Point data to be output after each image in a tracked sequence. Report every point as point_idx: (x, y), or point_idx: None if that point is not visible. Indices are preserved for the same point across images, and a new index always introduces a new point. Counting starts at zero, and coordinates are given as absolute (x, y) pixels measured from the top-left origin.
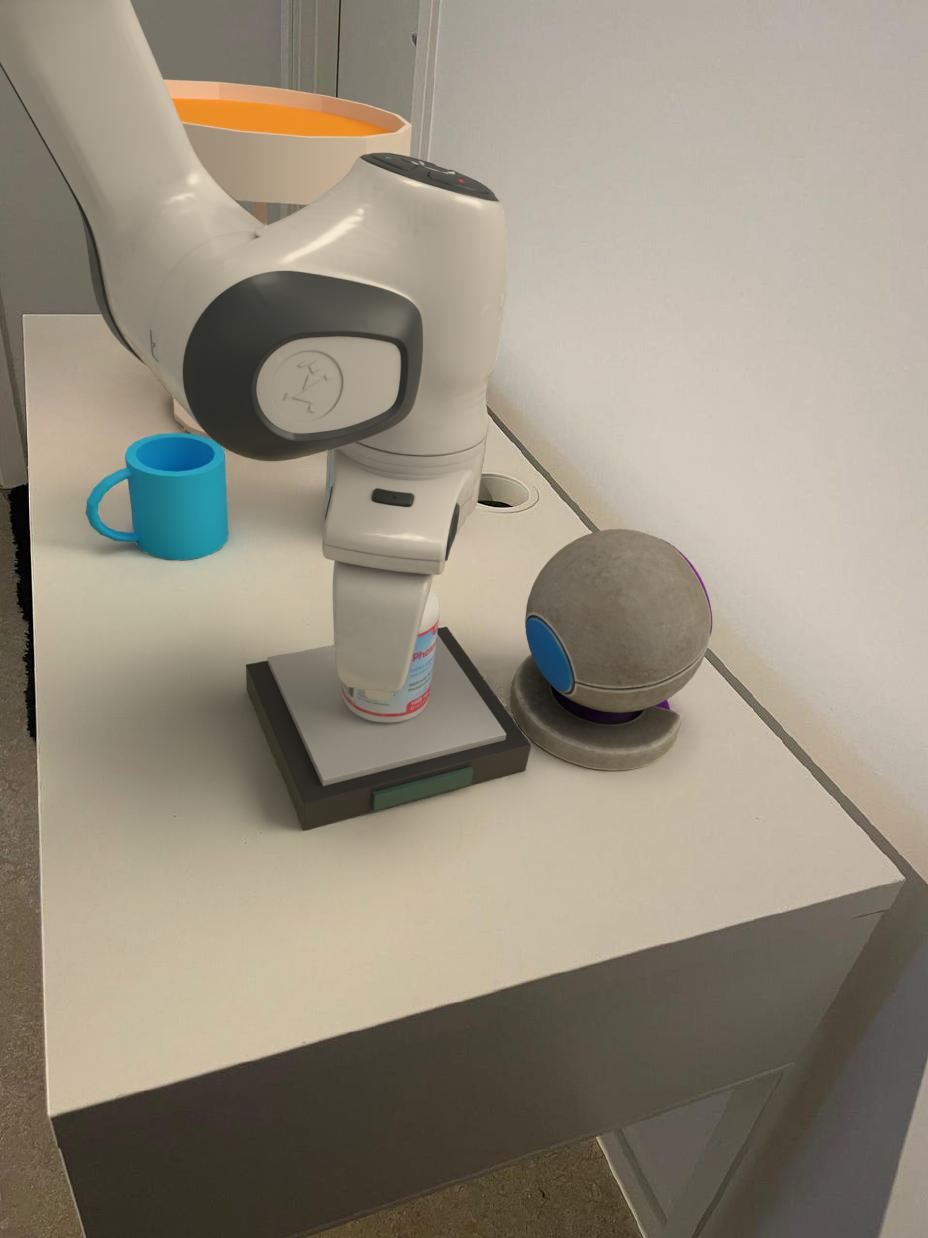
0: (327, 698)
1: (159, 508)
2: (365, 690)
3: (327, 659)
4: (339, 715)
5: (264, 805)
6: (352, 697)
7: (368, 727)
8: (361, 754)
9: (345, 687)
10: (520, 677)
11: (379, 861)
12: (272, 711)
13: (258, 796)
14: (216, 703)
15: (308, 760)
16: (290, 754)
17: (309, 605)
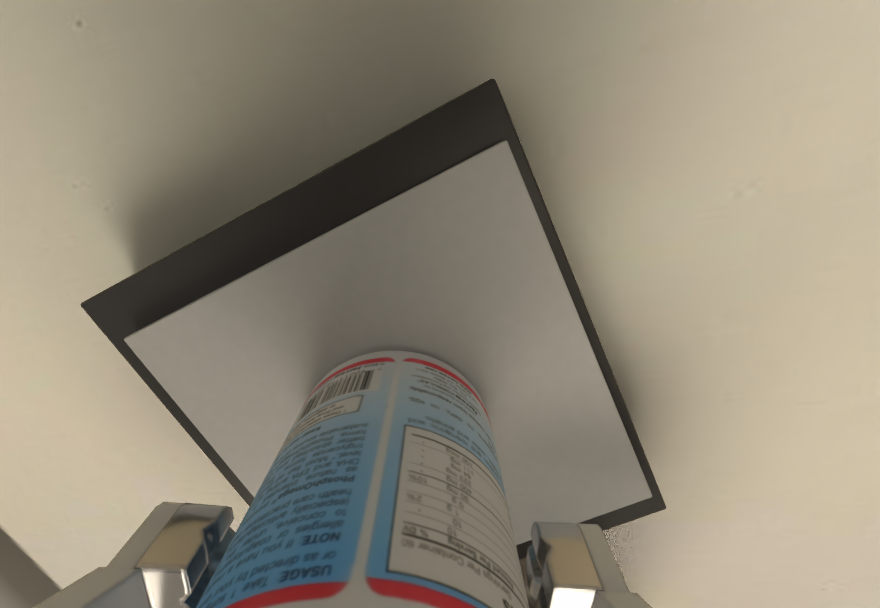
0: (369, 316)
1: None
2: (146, 520)
3: (514, 297)
4: (320, 347)
5: (169, 202)
6: (311, 399)
7: (298, 405)
8: (217, 400)
9: (332, 385)
10: (528, 600)
11: (123, 396)
12: (323, 190)
13: (186, 186)
14: (431, 25)
15: (196, 294)
16: (199, 255)
17: (819, 186)
